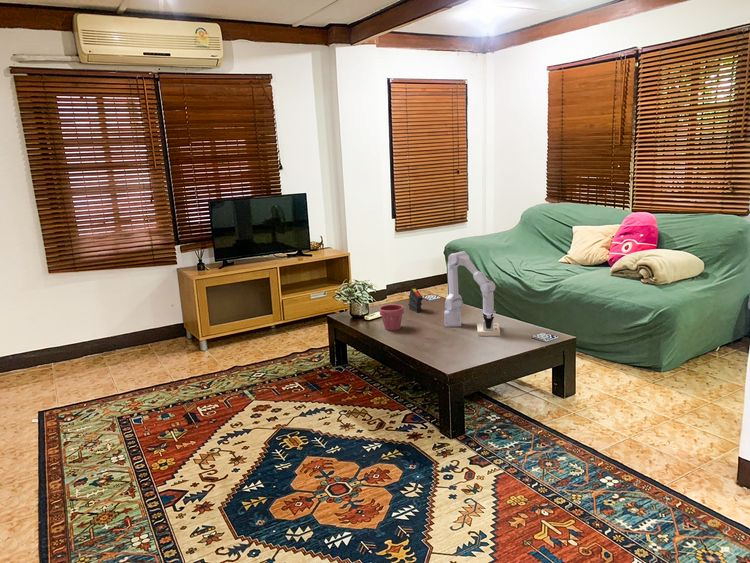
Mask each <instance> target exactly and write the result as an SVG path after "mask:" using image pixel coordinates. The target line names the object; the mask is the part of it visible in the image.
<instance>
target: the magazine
mask: <svg viewBox="0 0 750 563" xmlns="http://www.w3.org/2000/svg"><path fill="white" fill-rule="evenodd" d="M408 298H409V300H408V306H409V310H411V311H413V312H415V313H422V311H423V309H422V305H423V303H422V301H423V300H424V298H423V295H422V294H421V293H420V291H419V290H418V289H417V287H415V286H414V287H410V288H409V295H408Z"/></svg>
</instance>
